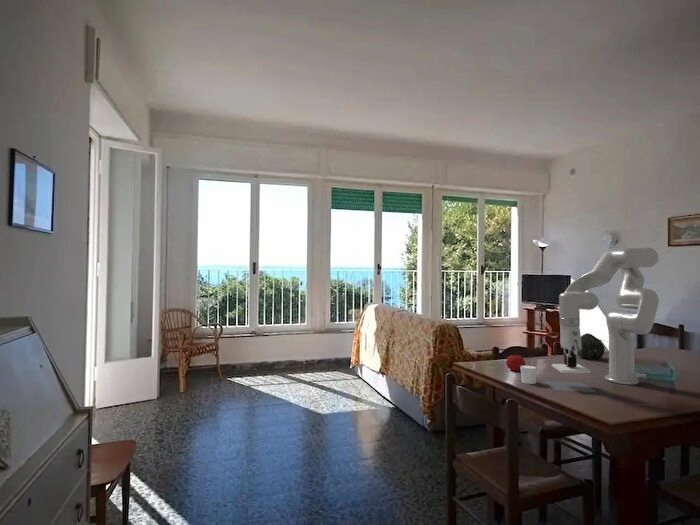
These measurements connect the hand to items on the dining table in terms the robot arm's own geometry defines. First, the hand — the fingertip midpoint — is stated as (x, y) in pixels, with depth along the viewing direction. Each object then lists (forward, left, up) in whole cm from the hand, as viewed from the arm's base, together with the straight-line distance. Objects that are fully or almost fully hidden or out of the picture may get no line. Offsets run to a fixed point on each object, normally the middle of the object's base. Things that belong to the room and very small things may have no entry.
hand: (570, 365), depth 174 cm
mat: (+1, 0, -9) cm, 9 cm away
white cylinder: (+16, -4, -9) cm, 19 cm away
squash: (-36, -64, -9) cm, 74 cm away
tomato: (+15, -27, -9) cm, 32 cm away
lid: (0, 0, -2) cm, 2 cm away
